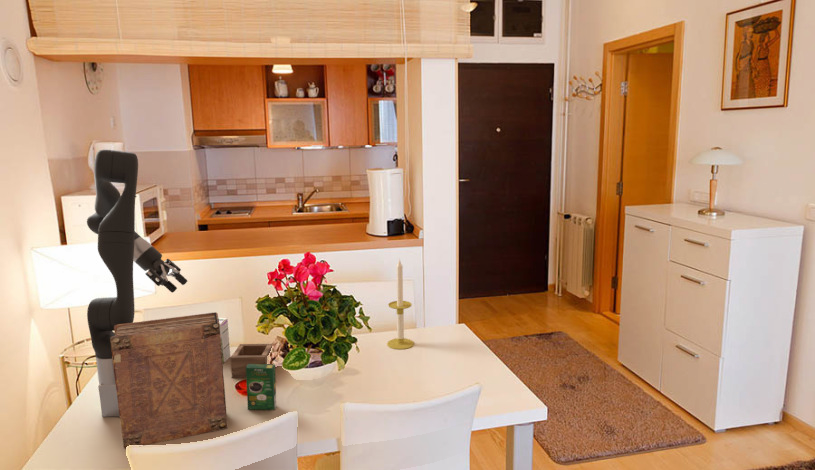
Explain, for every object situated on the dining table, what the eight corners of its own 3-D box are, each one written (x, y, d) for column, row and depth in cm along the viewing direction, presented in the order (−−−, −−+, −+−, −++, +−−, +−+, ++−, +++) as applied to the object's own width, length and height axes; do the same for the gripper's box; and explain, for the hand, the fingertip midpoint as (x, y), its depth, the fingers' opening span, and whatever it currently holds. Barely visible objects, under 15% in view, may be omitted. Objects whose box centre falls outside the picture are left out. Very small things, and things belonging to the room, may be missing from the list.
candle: (402, 336, 210) (401, 254, 204) (419, 344, 203) (419, 259, 196) (381, 343, 204) (379, 258, 197) (398, 351, 196) (397, 263, 190)
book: (122, 449, 139) (108, 337, 133) (126, 431, 147) (113, 324, 141) (228, 428, 148) (219, 322, 142) (225, 412, 156) (217, 311, 150)
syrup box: (231, 356, 194) (228, 317, 191) (224, 363, 188) (220, 323, 185) (215, 355, 194) (212, 316, 192) (208, 362, 189) (204, 322, 186)
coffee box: (278, 405, 160) (275, 363, 157) (275, 410, 157) (273, 367, 154) (250, 405, 160) (247, 363, 157) (247, 410, 157) (244, 367, 154)
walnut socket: (266, 377, 177) (265, 357, 176) (232, 377, 177) (230, 357, 176) (273, 362, 188) (272, 343, 187) (241, 363, 188) (240, 344, 187)
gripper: (140, 251, 176) (178, 285, 178) (160, 241, 190) (195, 273, 192) (125, 267, 177) (164, 301, 179) (146, 256, 191) (182, 288, 193)
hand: (180, 286), depth 186 cm, fingers open, 8 cm apart
